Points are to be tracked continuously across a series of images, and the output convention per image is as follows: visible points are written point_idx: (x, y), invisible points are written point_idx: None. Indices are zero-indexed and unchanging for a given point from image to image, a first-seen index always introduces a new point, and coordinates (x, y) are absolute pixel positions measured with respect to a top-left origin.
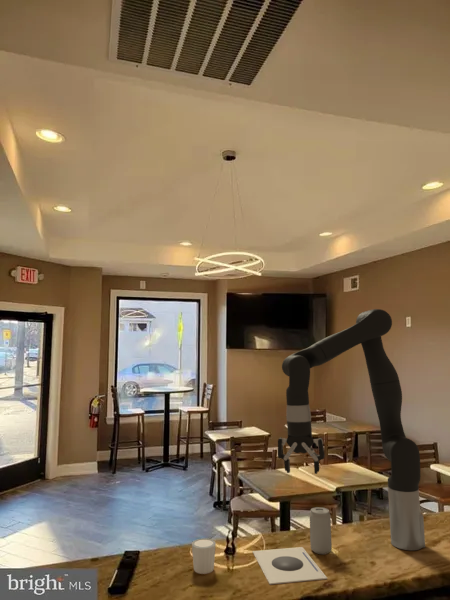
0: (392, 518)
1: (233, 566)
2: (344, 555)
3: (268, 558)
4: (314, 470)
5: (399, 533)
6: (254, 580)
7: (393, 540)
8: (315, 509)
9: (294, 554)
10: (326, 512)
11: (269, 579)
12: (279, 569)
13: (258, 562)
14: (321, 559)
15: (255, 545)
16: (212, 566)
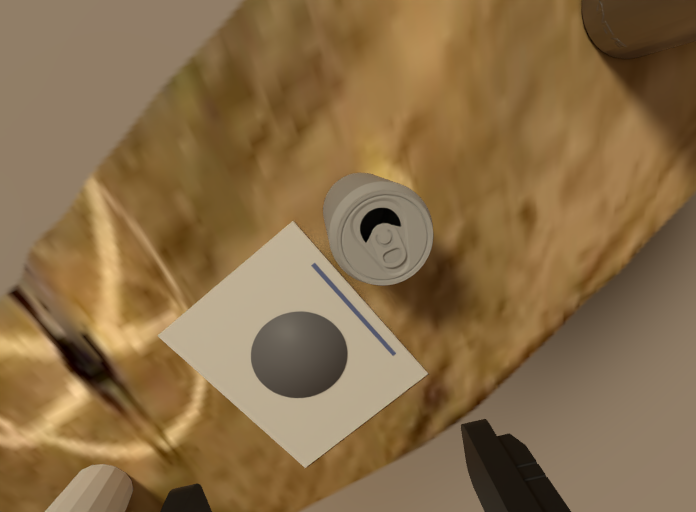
0: (686, 3)
1: (166, 437)
2: (439, 206)
3: (232, 355)
4: (482, 504)
5: (659, 42)
6: (261, 467)
7: (606, 35)
8: (358, 231)
9: (293, 290)
10: (424, 250)
11: (296, 453)
12: (295, 397)
13: (219, 390)
14: None
15: (134, 282)
16: (127, 495)
